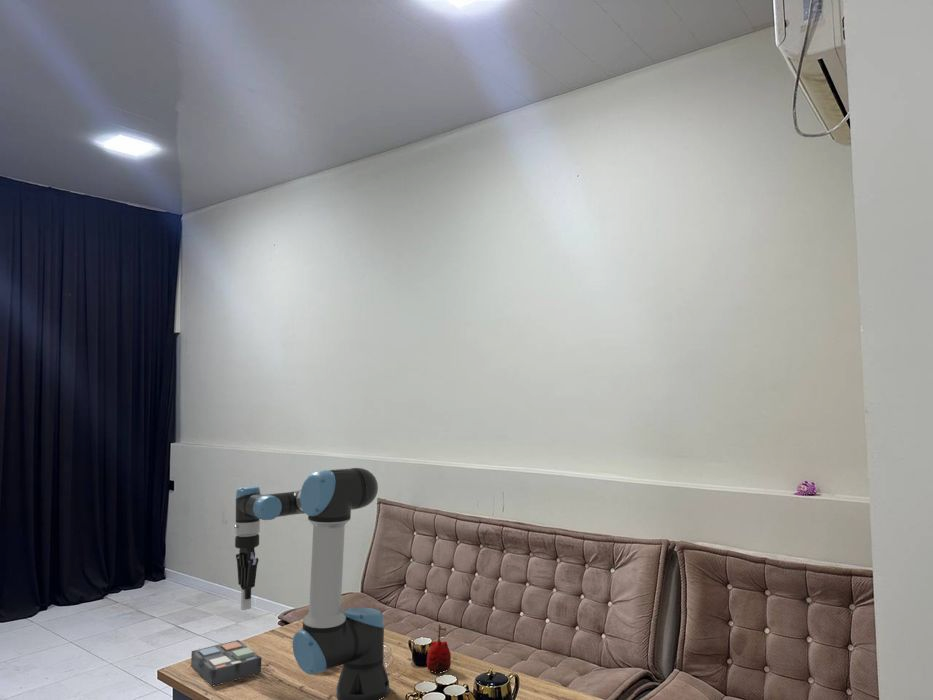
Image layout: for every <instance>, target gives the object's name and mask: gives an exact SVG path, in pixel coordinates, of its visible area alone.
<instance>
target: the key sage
mask: <svg viewBox="0 0 933 700" xmlns="http://www.w3.org/2000/svg"><path fill="white" fill-rule="evenodd" d="M254 652H255V651H254V650H252V649H251V648H250V647H248V646H247V648H243V649H239V650H235V651H232V657H233V658H234V659H235V660H236V661H239V660H244V659H247V658H250V657H254Z"/></svg>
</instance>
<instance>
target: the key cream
mask: <svg viewBox="0 0 933 700" xmlns="http://www.w3.org/2000/svg"><path fill="white" fill-rule="evenodd" d="M209 663H210V664H211V665H212V666H213V667H216V666H220V665H224V664H229V663H231V660H230V659H229V658H228V657H226V656H223V657H219V658H215V659H211V660H209Z"/></svg>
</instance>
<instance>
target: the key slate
mask: <svg viewBox="0 0 933 700" xmlns="http://www.w3.org/2000/svg"><path fill="white" fill-rule="evenodd" d="M206 648H207V647H206ZM202 649H203V648H202ZM219 653H220V651H219V650H218V649H217V648H216V647H212V648H207V649H203V650H199V654H200V655H201V656H202V657H207V656H211V655H215V654H219Z"/></svg>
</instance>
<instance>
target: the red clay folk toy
mask: <svg viewBox="0 0 933 700" xmlns="http://www.w3.org/2000/svg"><path fill="white" fill-rule="evenodd" d="M437 627H438V633H437V641H436V640H433V641H432V642H431V643H430V644H431V646H430V647H429V649H428V651H427V655H426V667H427V670H428V671H429V670H430V671H429V672H431V671H433V672H436V673H435V674H437V673H440V672H443V671H446V670H448V669H449V670H450V667H451V664H452V660H451V659H452V656H451V655H452V654H451V651H450V648H449V646H448V642H447V641H446V640H445V641H441V631H444V632H446V631H447V628H444V627H443V628H442V626H441V624H440V623H439V624H438V625H437ZM449 670H448V671H449ZM446 672H447V671H446ZM440 674H441V673H440Z"/></svg>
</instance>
